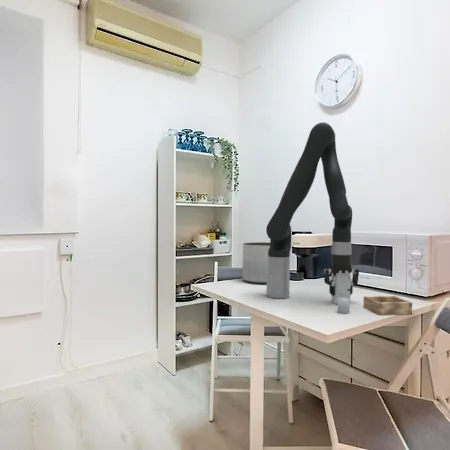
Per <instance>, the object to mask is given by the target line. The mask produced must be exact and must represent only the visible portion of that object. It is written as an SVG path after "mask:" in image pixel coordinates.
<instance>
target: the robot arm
mask: <svg viewBox="0 0 450 450" xmlns="http://www.w3.org/2000/svg"><path fill="white" fill-rule="evenodd" d="M320 160H321V164H322V169H323V179H324V184H325V188H326V190H327V194H328V201H329V209H330V213H331V215H332V217H333V218H334V223H333V224H334V225H333V229H332V233H331V234H332V238H331V239H332V240H331V241H332V242H331V251H330V252H331V267H330V268H324V269H323V278H324V280H323V281H324V284H326V285H328V286H329V290H328V292H329V294H330V296H331V297H332V296H334V295H335V286H334V285H335V283H336V280H337V275H336V273H338V274H341V273H345V274H346V275H347V278H348V280H349V281H350V280H351V287H350V296H352V295H353V289H354V286H355V285H358V283H359V276H360V275H359V274H360V270H359V269H357V268H352V259H353V258H352V257H353V255H352V222H353V208H352V207H351V206H350V205H349V203H348V198H347V188H346V184H345V180H344V176H343V173H342V170H341V167H340V163H339V160H338V154H337V145H336V132H335V131H334V129H333V127H332V126H331V125H330V124H329V123H327V122H322V121H321V122H318V123H316V124H315V125H314V126H313V127H312V128H311V130H310V132H309V134H308V137H307V141H306V143H305V146H304V150H303V152H302V154H301V156H300V157H299V159H298V162H297V164H296V166H295V168H294V170H293V172H292V173H291V176H290V178H289V180H288V182H287V184H286V187H285V189H284V191H283V194H282V196H281V199H280V201H279V203H278V206H277V208H276V210H275V212H274V213H273V214H272V216H271V218H270V220H269V221H268V223H267V225H266V230H265V231H266V235H267V237H268V238H269V239H270V240H269V243H270V247H269V250H268V273H267V284H266V296H267V297H268V298H271V299H272V298H273V299H287V298H288V299H289V298H290V293H291V292H290V278H291V277H290V276H291V275H290V274H291V273H290V269H291V267H290V265H291V263H290V261H291V260H290V259H291V258H290V257H291V256H290V255H291V249H292V225H291V221H292V219H293V216H294V215H295V213H296V211H297V210H298V208H299V207H300V206H301V204H302V203H303V201H305V199H306V198H307V196H308V194H309V192H310V190H311V188H312V185H313V183H314V180H315V178H316V174H317V170H318V165H319V162H320ZM349 273H352V274H351V275H352V278H351V277H350V275H349ZM330 274H331V278H330ZM332 274H333V275H334V276H335V278H333V276H332Z"/></svg>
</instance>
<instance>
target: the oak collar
mask: <svg viewBox="0 0 450 450" xmlns="http://www.w3.org/2000/svg"><path fill="white" fill-rule="evenodd" d="M363 308H365V309H366V310H368V311H370V312H372V313H374V314H376V315H378V316H385V315H386V316H387V315H391V316H392V315H395V316H396V315H413V302H411V301H408V300H407V299H403V298H401V297H398V296H396V295H387V296H386V295H380V296H379V295H378V296H377V295H375V296H363Z"/></svg>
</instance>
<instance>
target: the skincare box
mask: <svg viewBox="0 0 450 450" xmlns="http://www.w3.org/2000/svg"><path fill="white" fill-rule="evenodd" d="M351 273H352V272H351ZM351 273H349V275H350V277H351V276H352V274H351ZM336 275H337V280H336V283H335V285H334V286H335V295H334V296H332V295H331V303H333V304H334V305H338V297H346V298H349V299H350V300H351V295H350V287H351V280H350V281H349V280H348V278H347V275H346V274H345V273H341V274H338V273H336ZM332 276H333V278H335V276H334V275H333V274H332V273H331V277H332ZM349 305H351V301H350V302H349Z"/></svg>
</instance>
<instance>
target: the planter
mask: <svg viewBox="0 0 450 450" xmlns="http://www.w3.org/2000/svg"><path fill="white" fill-rule="evenodd" d="M269 247H270V242H261V241H260V242H245V243H242V268H241V269H242V270H241V271H242V272H241V274H242V276H241V277H242V280H243V281H244V282H247V283H249V284H254V285H267V273H268V250H269Z"/></svg>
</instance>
